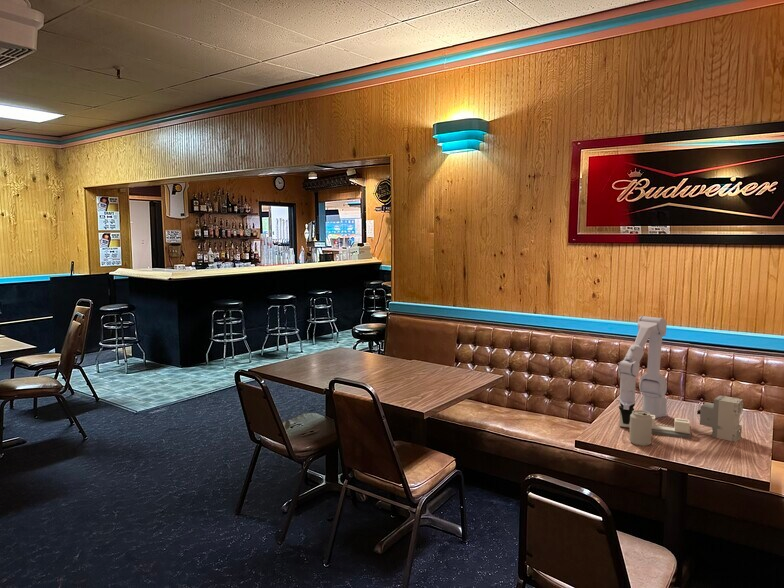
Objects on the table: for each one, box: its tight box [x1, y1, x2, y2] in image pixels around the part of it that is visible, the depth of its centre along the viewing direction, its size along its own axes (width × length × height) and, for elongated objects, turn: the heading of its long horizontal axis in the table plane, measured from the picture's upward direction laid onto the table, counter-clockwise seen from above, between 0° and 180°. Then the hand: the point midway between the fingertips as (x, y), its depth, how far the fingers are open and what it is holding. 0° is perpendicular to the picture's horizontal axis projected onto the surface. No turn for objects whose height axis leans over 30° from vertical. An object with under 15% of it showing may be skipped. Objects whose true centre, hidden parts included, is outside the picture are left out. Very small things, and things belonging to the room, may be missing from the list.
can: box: [629, 409, 653, 447], centre depth 197 cm, size 8×8×12 cm
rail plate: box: [650, 415, 692, 440], centre depth 210 cm, size 18×9×6 cm, turn 63°
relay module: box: [618, 410, 630, 429], centre depth 216 cm, size 5×4×6 cm
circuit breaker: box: [696, 395, 744, 443], centre depth 206 cm, size 8×14×15 cm, turn 45°
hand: (626, 421), depth 216 cm, fingers closed on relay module, 4 cm apart
